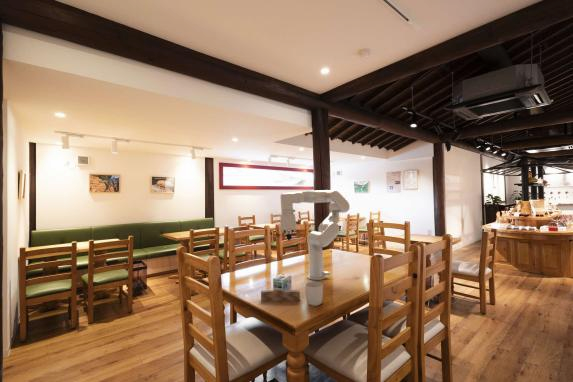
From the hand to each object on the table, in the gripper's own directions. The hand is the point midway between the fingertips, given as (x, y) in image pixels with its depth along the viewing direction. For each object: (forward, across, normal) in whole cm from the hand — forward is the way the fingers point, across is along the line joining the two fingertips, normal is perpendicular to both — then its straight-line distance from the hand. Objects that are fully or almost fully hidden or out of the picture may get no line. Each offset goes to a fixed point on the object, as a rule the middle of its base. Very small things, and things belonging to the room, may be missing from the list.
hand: (289, 240), depth 174 cm
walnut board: (+27, +6, +29) cm, 40 cm away
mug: (+28, -13, +32) cm, 44 cm away
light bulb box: (+27, +5, +22) cm, 35 cm away
